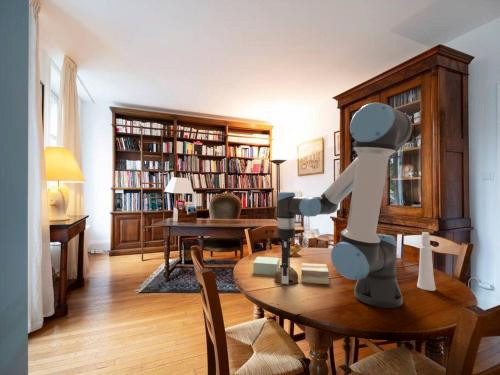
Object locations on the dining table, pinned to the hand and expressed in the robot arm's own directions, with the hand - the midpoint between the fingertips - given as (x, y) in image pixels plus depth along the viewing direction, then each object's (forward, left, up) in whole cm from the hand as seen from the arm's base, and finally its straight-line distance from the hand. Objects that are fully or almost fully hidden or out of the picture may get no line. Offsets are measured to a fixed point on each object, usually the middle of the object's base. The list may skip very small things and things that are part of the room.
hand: (286, 277), depth 105 cm
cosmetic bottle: (+4, -55, -1) cm, 55 cm away
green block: (+11, +10, -1) cm, 15 cm away
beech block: (+5, -12, -1) cm, 13 cm away
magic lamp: (+45, -1, -1) cm, 45 cm away
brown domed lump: (0, 0, -1) cm, 1 cm away
